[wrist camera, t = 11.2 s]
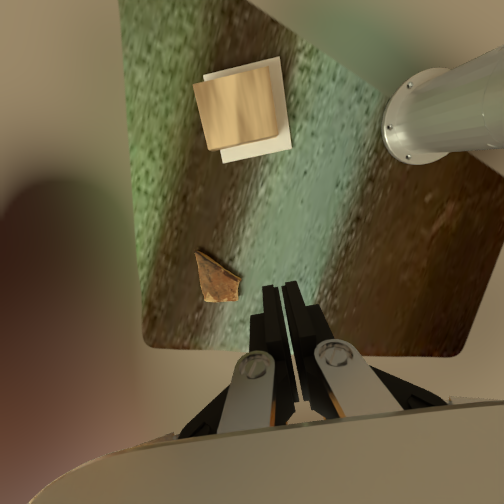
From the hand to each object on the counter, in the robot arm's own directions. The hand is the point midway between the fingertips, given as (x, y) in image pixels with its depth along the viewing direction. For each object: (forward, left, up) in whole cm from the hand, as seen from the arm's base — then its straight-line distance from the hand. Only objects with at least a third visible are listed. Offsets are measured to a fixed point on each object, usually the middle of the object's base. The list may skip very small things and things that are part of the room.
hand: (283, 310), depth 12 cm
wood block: (+6, -14, -29) cm, 33 cm away
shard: (+12, +12, -32) cm, 36 cm away
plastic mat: (-1, -14, -31) cm, 34 cm away
